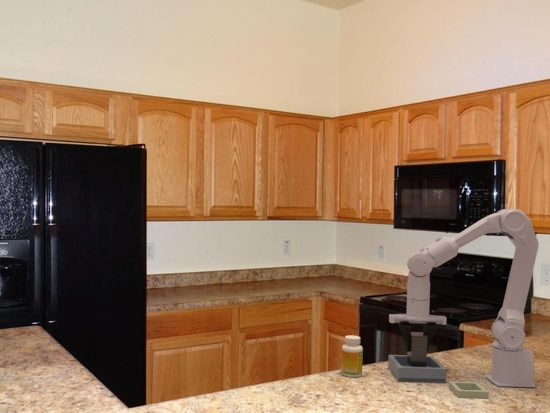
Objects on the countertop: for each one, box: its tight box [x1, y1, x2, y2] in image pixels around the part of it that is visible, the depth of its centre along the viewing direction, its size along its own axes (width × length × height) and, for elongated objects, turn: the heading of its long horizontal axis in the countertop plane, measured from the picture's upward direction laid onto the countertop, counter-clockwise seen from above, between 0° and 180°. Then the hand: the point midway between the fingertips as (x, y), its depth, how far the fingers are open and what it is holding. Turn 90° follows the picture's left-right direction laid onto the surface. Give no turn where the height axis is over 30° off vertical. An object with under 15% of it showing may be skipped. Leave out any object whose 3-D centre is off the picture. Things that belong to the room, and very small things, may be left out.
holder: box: [448, 380, 490, 399], centre depth 131 cm, size 7×7×2 cm
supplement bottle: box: [340, 334, 364, 378], centre depth 143 cm, size 5×5×10 cm
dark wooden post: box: [406, 331, 428, 367], centre depth 143 cm, size 4×4×8 cm
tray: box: [387, 354, 447, 384], centre depth 144 cm, size 12×12×4 cm
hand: (416, 351), depth 144 cm, fingers closed on dark wooden post, 4 cm apart
